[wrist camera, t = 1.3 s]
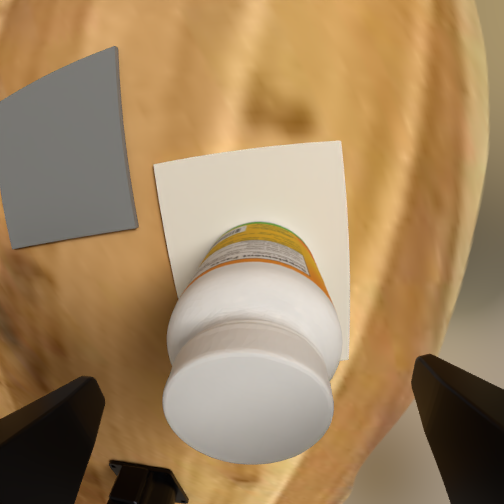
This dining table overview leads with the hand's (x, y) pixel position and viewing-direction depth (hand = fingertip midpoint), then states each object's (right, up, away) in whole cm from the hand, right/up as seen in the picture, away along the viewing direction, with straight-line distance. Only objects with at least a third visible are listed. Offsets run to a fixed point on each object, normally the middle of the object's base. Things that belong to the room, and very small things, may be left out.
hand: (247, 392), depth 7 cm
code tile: (0, +3, +8) cm, 9 cm away
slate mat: (-11, +9, +7) cm, 16 cm away
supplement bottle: (0, +3, +8) cm, 9 cm away
